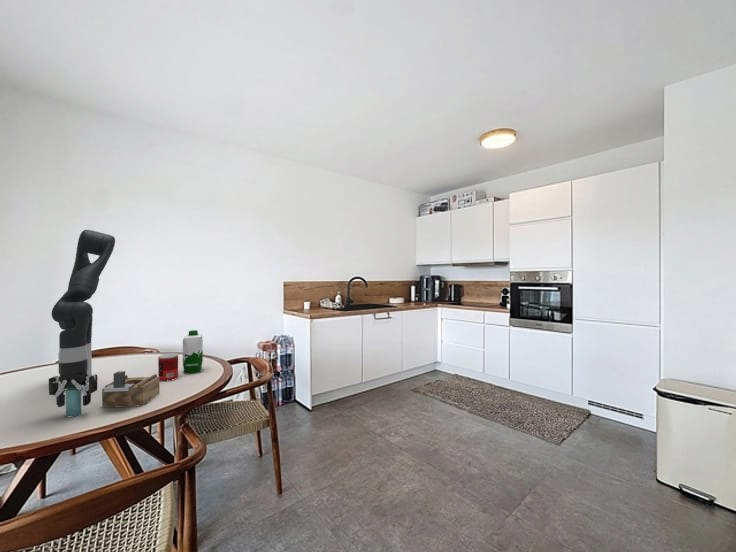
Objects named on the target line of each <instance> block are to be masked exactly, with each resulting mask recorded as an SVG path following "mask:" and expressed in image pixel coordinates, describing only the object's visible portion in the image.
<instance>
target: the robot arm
mask: <svg viewBox="0 0 736 552" xmlns="http://www.w3.org/2000/svg"><path fill="white" fill-rule="evenodd" d="M115 244H116V238H115V236H113V235H110V234H107V233H103V232H101V231H100V232H99V231H96V230H92V229H84V230H82V232H80V233H79V237H78V240H77V247H76V253H75V258H74V259H75V260H74V264H73V268H72V271H71V274H70V276H69V277H70V278H69V282H68V286H67V290H66V291H65V293H64V294H63V295H62V296H61V297H60V298H59V299H58V301H57V302H56V303H55V304H54V306H53V308H52V309H51V318H52V320H53V321H54V322H56V323H58V326H59V328H60V329H61V330H62V331H60V332H59V334H58V335H59V337H58V338H59V340H58V342H59V343H58V344H59V346H58V347H59V348H58V350H59V351H58V375H59V376H58V375H55V376H52V377H50V378H49V379H48V394H49V396H54V397H55V398H56V399H55V400H56V401H55V402H56V406H57V408H61V407H63V406H66V390H67V389H70V388H74V389H76V388H77V389H78V390H79V391H81V395H82V406H83V407H86V406H88V405H90V403H91V401H92V394H93V393H95V392H97V391H98V374H93V375H92V371H93V370H92V369H93V368H92V367H93V366H92V365H93V363H92V359H93V358H92V336H93V313H94V309H93V306H92V305H91V304H90V303H89V302H87V300H90V299H91V298H92V297H93V295H94V294H95V293H96V291H97V289H98V285H99V281H100V276H101V274H102V272H103V271H104V269H105V267H106V266H107V264H108V263H109V262H108V261H109V259H110V257H112V256H111V255H112V253H113V251H114V248H115V246H116V245H115ZM89 254H90V255H93V256H98V257H97V258H96V259H95V261H93V262H91V260H90V258H89ZM59 382H60V383H59ZM59 384H60V386H59Z"/></svg>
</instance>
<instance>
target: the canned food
mask: <svg viewBox="0 0 736 552" xmlns="http://www.w3.org/2000/svg"><path fill="white" fill-rule="evenodd" d="M157 359H158V360H157V361H158V366H157V367H158V371H157V372H158V375H157V377H159V382H168V381H167V380H170V381H173V380H172V379H174V380H176V379H177V378H178V377H179V354H178V353H176V352H175V353H173V352H172V353H164V354H161V355H158V357H157ZM175 378H176V379H175Z"/></svg>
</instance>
